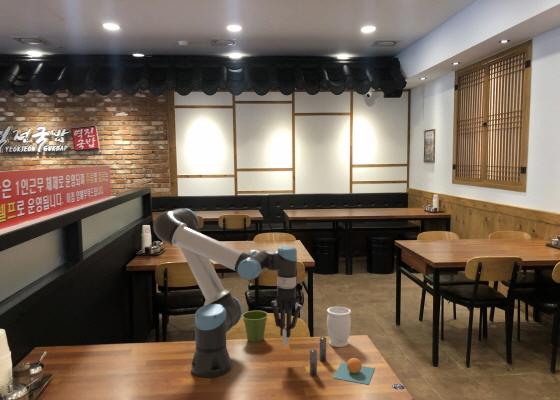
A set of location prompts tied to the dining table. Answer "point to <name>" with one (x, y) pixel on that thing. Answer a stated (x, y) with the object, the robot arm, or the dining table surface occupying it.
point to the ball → (354, 365)
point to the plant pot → (255, 325)
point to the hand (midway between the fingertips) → (285, 344)
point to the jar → (338, 326)
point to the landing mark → (360, 377)
